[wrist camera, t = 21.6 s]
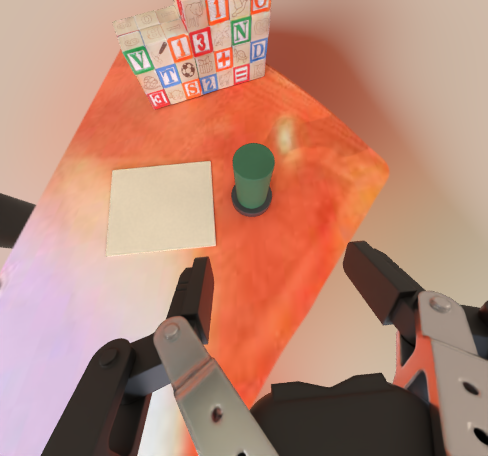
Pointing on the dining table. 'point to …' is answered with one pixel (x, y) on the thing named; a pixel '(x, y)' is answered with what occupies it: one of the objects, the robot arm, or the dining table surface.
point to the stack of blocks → (195, 47)
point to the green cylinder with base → (252, 179)
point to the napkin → (161, 209)
